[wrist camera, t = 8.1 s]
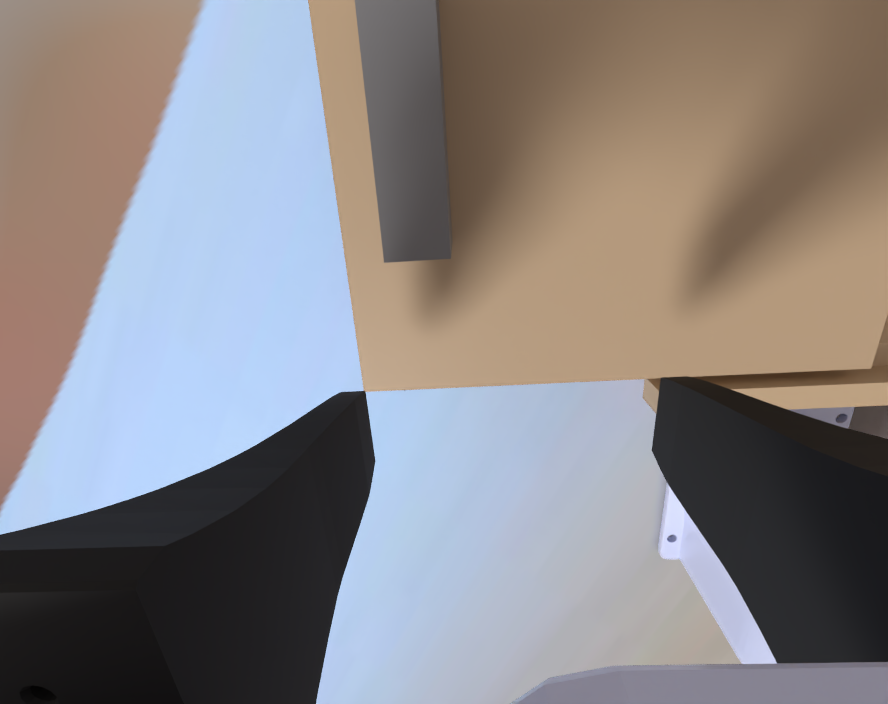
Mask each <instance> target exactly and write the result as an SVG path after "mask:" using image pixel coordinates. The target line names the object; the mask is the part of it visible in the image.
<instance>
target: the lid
mask: <svg viewBox="0 0 888 704" xmlns="http://www.w3.org/2000/svg"><path fill="white" fill-rule="evenodd" d="M308 3H309V10H310V17H311V24H312V31H313V38H314V45H315V52H316V59H317V66H318V73H319V80H320V87H321V94H322V101H323V108H324V115H325V122H326V128H327V135H328V142H329V149H330V156H331V163H332V170H333V177H334V184H335V191H336V198H337V205H338V212H339V219H340V226H341V233H342V240H343V247H344V254H345V261H346V268H347V275H348V282H349V289H350V296H351V303H352V310H353V317H354V324H355V331H356V338H357V345H358V352H359V359H360V366H361V373H362V380H363V387H364V391H365V392H370V391H392V390H414V389H436V388H458V387H480V386H501V385H523V384H545V383H567V382H589V381H611V380H633V379H655V378H661V377H683V376H688V377H698V376H720V375H742V374H764V373H786V372H808V371H829V370H851V369H871V367H872V364H873V361H874V357H875V354H876V351H877V348H878V344H879V341H880V338H881V334H882V331H883V328H884V325H885V321H886V318H887V315H888V0H308Z"/></svg>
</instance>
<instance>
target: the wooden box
mask: <svg viewBox="0 0 888 704" xmlns="http://www.w3.org/2000/svg"><path fill="white" fill-rule="evenodd" d="M693 378H697V379H701V380H704V381H708V382H711V383H714V384H717V385H720V386H723V387H726V388H728V389H731V390H734V391H737V392H740V393H742V394H745V395H748V396H751V397H753V398H756V399H759V400H762V401H764V402H767V403H770V404H773V405H776V406H779V407H781V408H784V409H787V410H789V409H813V408H837V407H861V406H885V405H888V315H887V318H886V321H885V325H884V328H883V331H882V334H881V338H880V341H879V344H878V348H877V351H876V354H875V357H874V361H873V364H872V367H871V369H851V370H829V371H808V372H786V373H764V374H742V375H720V376H698V377H693ZM660 380H661V378H655V379H645V382H644V391H643V399H644V400H645V401H646V402H647V403H648V405H649V406H650V407H651V408H652V409H653V411H654V412H655V413H657V404H658V396H659V388H660Z"/></svg>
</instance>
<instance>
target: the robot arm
mask: <svg viewBox="0 0 888 704" xmlns="http://www.w3.org/2000/svg"><path fill="white" fill-rule="evenodd" d="M854 408H855V407H837V408H813V409H789V410H787V409H784V408H781V407H779V406H776V405H773V404H770V403H767V402H764V401H762V400H759V399H756V398H753V397H751V396H748V395H745V394H742V393H740V392H737V391H734V390H731V389H728V388H726V387H723V386H720V385H717V384H714V383H711V382H708V381H704V380H701V379H697V378H693V377H688V376H683V377H661V380H660V388H659V396H658V404H657V413H656V421H655V429H654V438H653V446H652V452H653V454H654V456H655V458H656V460H657V463H658V465H659V467H660V469H661V471H662V473H663V475H664V477H665V479H666V481H667V486H666V493H665V500H664V507H663V515H662V522H661V529H660V536H659V543H658V552H659V553H660V555H661V557H662V558H664V559H680V560H681V562H682V564H683V565H684V567H685V569H686V570H687V572H688V574H689V575H690V577H691V579H692V581H693V582H694V584H695V586H696V587H697V589H698V591H699V592H700V594H701V596H702V598H703V599H704V601H705V603H706V604H707V606H708V608H709V609H710V611H711V613H712V615H713V616H714V618H715V620H716V621H717V623H718V625H719V626H720V628H721V630H722V632H723V633H724V635H725V637H726V638H727V640H728V642H729V644H730V645H731V647H732V649H733V650H734V652H735V654H736V655H737V657H738V658H739V660H740V661H741V663H742V664H705V665H633V666H610V667H604V668H599V669H594V670H588V671H583V672H578V673H573V674H567V675H562V676H557V677H551V678H548V679H547V680H545V681H544V682H542V683H541V684H539V685H538V686H536V687H535V688H533V689H531V690H530V691H528V692H527V693H525V694H524V695H522V696H521V697H519V698H518V699H516V700H515V701H513V702H512V703H510V704H888V439H885V438H881V437H877V436H873V435H869V434H866V433H862V432H858V431H854V430H851V429H848V428H849V425H850V421H851V418H852V415H853V411H854ZM839 414H840V416H839V417H838V418H836V417H837V416H838V415H839ZM374 465H375V456H374V449H373V442H372V435H371V428H370V421H369V414H368V407H367V400H366V393H365V391H356V392H341V393H338V394H336V395H335V396H333V397H331V398H329V399H328V400H326V401H325V402H323V403H322V404H320V405H319V406H317V407H316V408H314V409H313V410H311V411H310V412H308V413H307V414H305V415H304V416H302V417H301V418H299V419H298V420H296V421H295V422H293V423H292V424H290V425H289V426H287V427H285V428H284V429H282V430H280V431H279V432H277V433H275V434H274V435H272V436H270V437H269V438H267V439H265V440H264V441H262V442H260V443H259V444H257V445H255V446H253V447H252V448H250V449H248V450H246V451H244V452H242V453H240V454H239V455H237V456H235V457H233V458H230V459H228V460H226V461H224V462H222V463H220V464H218V465H216V466H214V467H212V468H210V469H207V470H205V471H203V472H200V473H198V474H195V475H193V476H190V477H188V478H185V479H183V480H180V481H178V482H176V483H173V484H171V485H168V486H166V487H163V488H161V489H158V490H155V491H152V492H150V493H147V494H144V495H141V496H138V497H135V498H132V499H129V500H126V501H123V502H120V503H117V504H114V505H110V506H107V507H104V508H101V509H98V510H94V511H91V512H87V513H84V514H81V515H77V516H73V517H69V518H65V519H61V520H58V521H54V522H50V523H46V524H42V525H38V526H34V527H31V528H27V529H23V530H19V531H15V532H10V533H6V534H2V535H0V704H316V699H317V693H318V688H319V683H320V678H321V673H322V668H323V663H324V658H325V653H326V647H327V642H328V637H329V633H330V628H331V624H332V619H333V614H334V610H335V605H336V600H337V596H338V592H339V589H340V585H341V581H342V578H343V574H344V571H345V568H346V565H347V562H348V559H349V556H350V553H351V550H352V547H353V544H354V541H355V538H356V535H357V532H358V529H359V526H360V523H361V520H362V516H363V513H364V510H365V507H366V504H367V501H368V497H369V494H370V488H371V483H372V477H373V471H374ZM670 535H672V536H670ZM668 536H670V537H668Z"/></svg>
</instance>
